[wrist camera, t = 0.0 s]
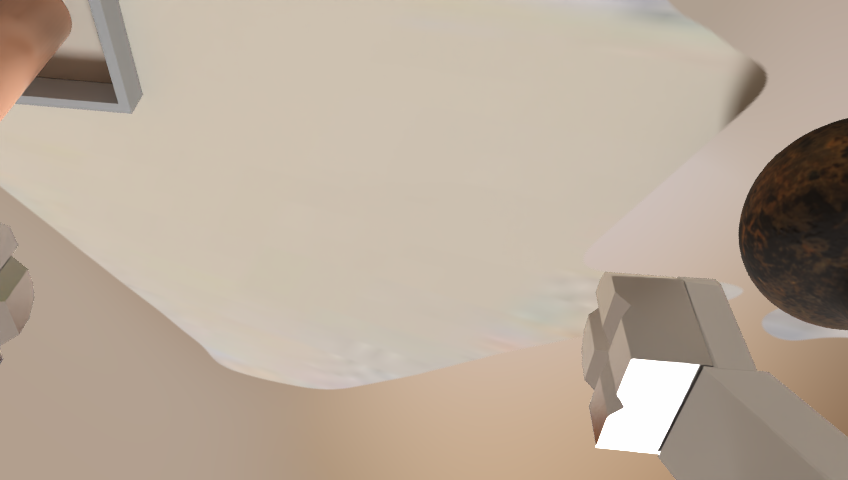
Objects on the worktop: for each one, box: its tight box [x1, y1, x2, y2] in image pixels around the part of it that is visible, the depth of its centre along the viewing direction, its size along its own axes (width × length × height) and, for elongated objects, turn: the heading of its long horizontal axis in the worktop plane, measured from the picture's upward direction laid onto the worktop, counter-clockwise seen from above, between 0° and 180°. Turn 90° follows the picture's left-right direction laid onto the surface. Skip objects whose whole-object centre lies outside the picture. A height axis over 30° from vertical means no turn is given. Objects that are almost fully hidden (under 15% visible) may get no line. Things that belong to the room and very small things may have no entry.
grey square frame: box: [15, 0, 143, 114], centre depth 49 cm, size 13×13×2 cm
